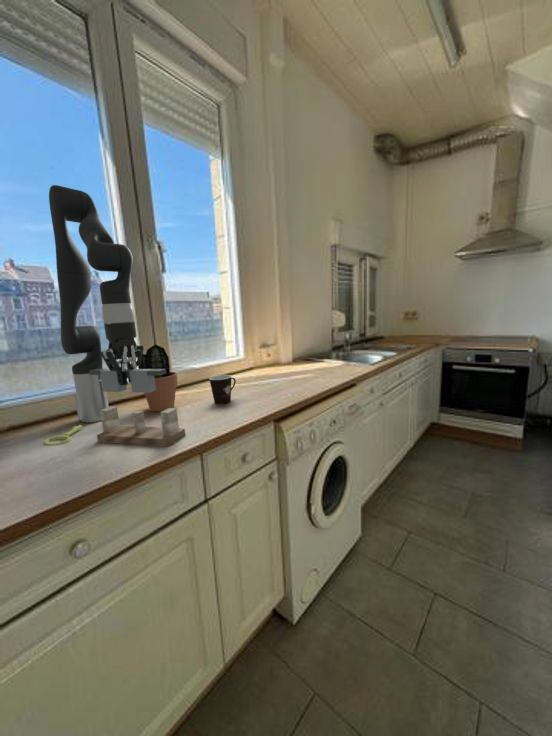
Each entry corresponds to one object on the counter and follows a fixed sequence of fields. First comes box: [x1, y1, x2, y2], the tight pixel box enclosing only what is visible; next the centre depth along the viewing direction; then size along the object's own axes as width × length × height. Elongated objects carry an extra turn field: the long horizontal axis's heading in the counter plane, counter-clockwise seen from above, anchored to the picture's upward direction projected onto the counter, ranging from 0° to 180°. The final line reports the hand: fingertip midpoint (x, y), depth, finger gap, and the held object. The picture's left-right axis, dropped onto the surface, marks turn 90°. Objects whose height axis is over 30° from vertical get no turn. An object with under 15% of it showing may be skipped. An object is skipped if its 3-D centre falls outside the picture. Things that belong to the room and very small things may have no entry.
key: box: [44, 424, 83, 446], centre depth 97 cm, size 7×12×2 cm, turn 12°
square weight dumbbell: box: [89, 368, 166, 394], centre depth 88 cm, size 24×3×6 cm, turn 73°
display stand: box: [96, 405, 186, 447], centre depth 91 cm, size 24×8×9 cm, turn 74°
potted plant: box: [137, 344, 179, 412], centre depth 120 cm, size 14×14×25 cm
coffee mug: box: [209, 374, 237, 405], centre depth 125 cm, size 12×9×10 cm
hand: (128, 383), depth 88 cm, fingers closed on square weight dumbbell, 2 cm apart
